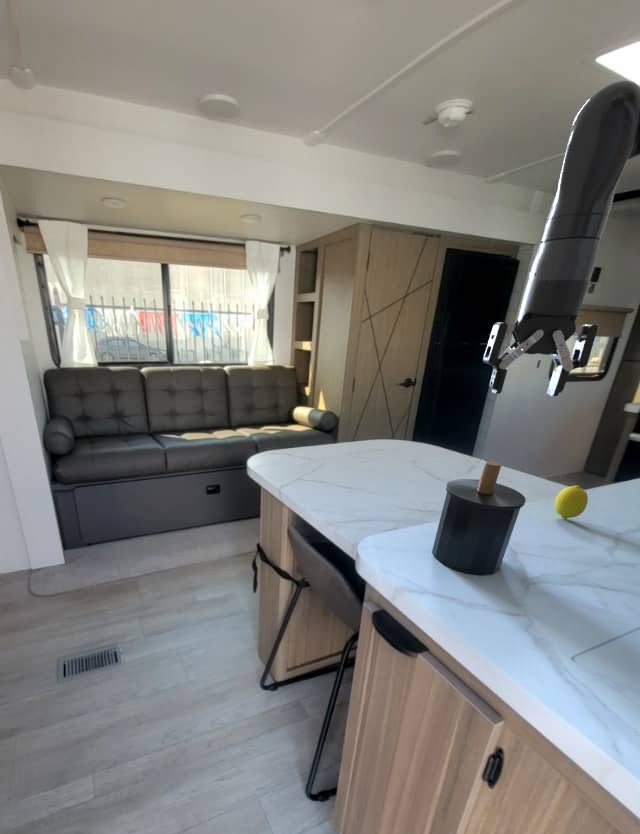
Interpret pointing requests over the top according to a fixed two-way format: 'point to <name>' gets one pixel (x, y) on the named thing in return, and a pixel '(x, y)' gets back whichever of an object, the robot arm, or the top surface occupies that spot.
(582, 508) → the lemon
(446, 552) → the canister
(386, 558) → the top surface
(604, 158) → the robot arm
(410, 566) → the top surface
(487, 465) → the lid
